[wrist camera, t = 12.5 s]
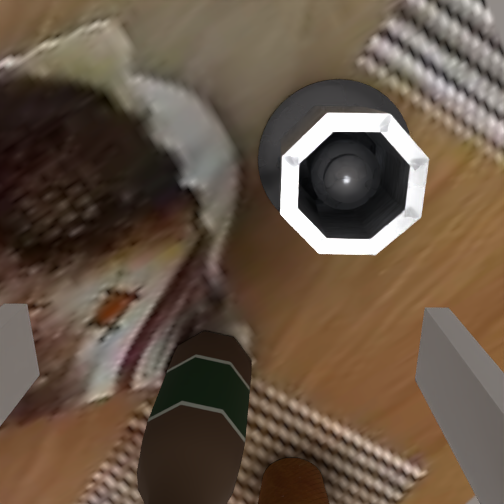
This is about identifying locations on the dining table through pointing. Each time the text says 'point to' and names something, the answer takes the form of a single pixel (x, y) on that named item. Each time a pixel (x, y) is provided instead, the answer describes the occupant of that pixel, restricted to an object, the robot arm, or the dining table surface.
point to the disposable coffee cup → (292, 483)
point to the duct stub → (327, 147)
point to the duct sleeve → (375, 209)
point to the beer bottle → (197, 424)
